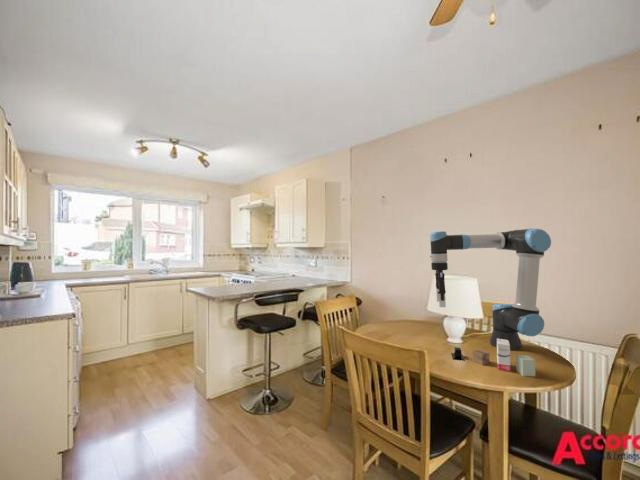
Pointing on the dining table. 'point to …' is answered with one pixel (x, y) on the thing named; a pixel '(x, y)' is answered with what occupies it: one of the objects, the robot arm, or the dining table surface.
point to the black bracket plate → (457, 354)
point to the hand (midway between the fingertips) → (441, 304)
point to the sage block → (525, 365)
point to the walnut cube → (481, 357)
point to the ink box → (503, 355)
